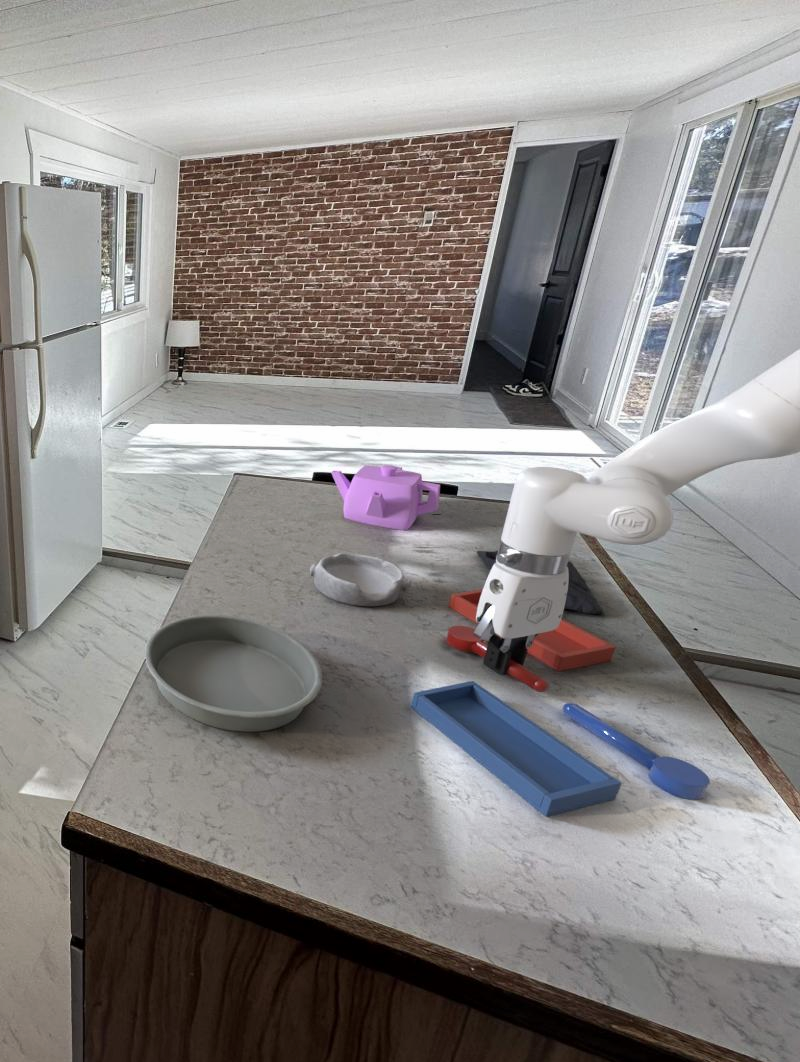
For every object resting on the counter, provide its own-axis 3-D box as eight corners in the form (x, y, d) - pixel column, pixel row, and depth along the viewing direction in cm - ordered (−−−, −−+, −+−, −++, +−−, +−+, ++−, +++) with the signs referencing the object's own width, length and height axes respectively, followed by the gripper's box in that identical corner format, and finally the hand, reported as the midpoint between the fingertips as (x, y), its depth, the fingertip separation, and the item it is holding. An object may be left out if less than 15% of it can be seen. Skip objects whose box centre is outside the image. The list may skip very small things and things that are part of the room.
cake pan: (116, 654, 104) (117, 631, 102) (247, 625, 109) (249, 602, 108) (201, 761, 82) (203, 733, 80) (359, 716, 87) (364, 690, 86)
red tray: (448, 606, 111) (451, 594, 110) (494, 598, 113) (498, 586, 112) (558, 671, 94) (562, 657, 93) (611, 660, 96) (616, 646, 95)
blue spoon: (548, 714, 86) (552, 702, 85) (576, 708, 87) (580, 696, 86) (682, 803, 72) (689, 790, 71) (714, 795, 73) (721, 781, 72)
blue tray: (410, 707, 89) (413, 692, 88) (469, 695, 90) (472, 680, 89) (545, 817, 71) (551, 800, 70) (615, 799, 73) (622, 782, 72)
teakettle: (441, 528, 140) (452, 475, 136) (367, 534, 139) (376, 481, 135) (390, 500, 156) (399, 452, 151) (323, 506, 155) (330, 457, 150)
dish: (417, 600, 114) (422, 575, 112) (357, 618, 110) (362, 592, 108) (350, 566, 126) (354, 543, 125) (294, 581, 122) (297, 558, 120)
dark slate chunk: (497, 604, 111) (503, 580, 109) (473, 551, 129) (478, 530, 128) (611, 621, 105) (619, 596, 103) (569, 563, 123) (576, 541, 121)
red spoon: (558, 692, 89) (562, 680, 88) (531, 698, 88) (534, 686, 87) (463, 633, 103) (465, 623, 102) (439, 638, 102) (441, 628, 101)
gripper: (508, 577, 83) (479, 693, 90) (608, 559, 86) (571, 673, 92) (459, 553, 90) (434, 662, 97) (552, 537, 93) (522, 645, 99)
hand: (502, 667), depth 94 cm, fingers closed on red spoon, 2 cm apart
